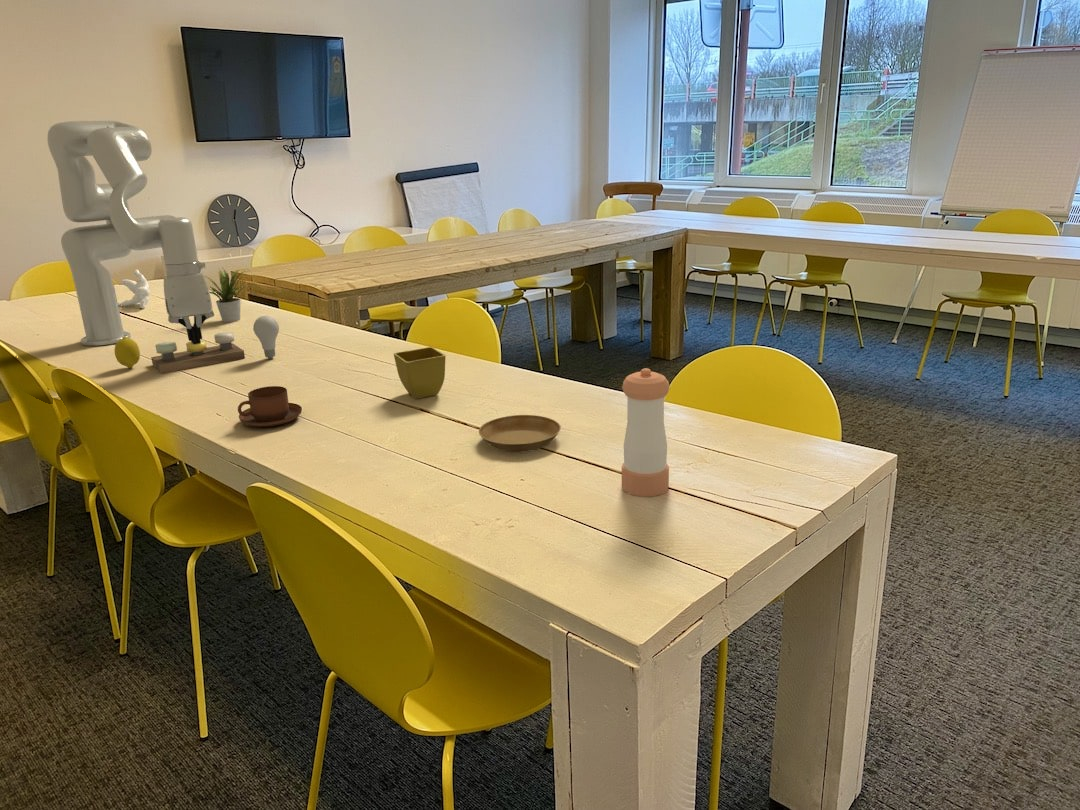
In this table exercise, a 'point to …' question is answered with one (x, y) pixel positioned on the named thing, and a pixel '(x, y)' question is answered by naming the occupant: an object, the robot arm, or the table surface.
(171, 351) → the sage button
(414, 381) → the flower pot
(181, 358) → the button board
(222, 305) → the house plant
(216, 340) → the grey button
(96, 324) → the robot arm
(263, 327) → the lightbulb
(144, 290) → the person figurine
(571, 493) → the table surface
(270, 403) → the cup and saucer
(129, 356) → the lemon
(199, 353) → the yellow button
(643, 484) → the pepper shaker
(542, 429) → the plant saucer
